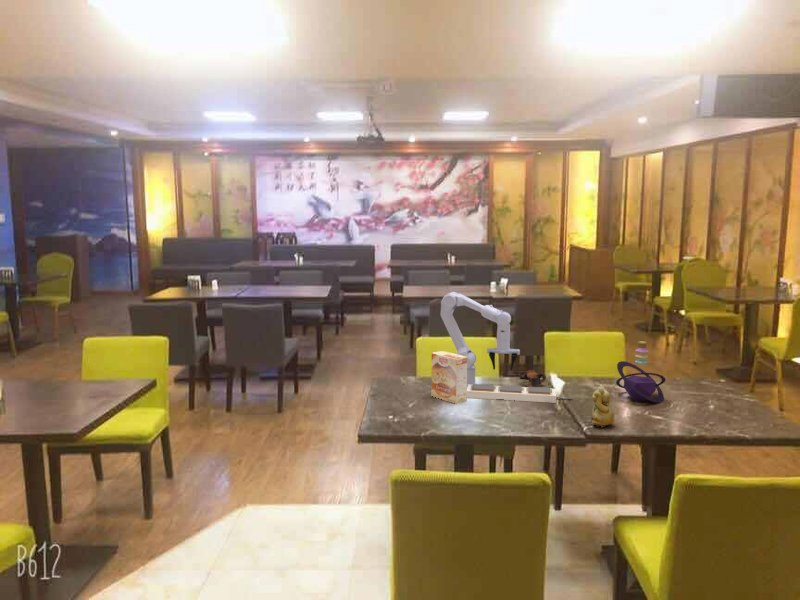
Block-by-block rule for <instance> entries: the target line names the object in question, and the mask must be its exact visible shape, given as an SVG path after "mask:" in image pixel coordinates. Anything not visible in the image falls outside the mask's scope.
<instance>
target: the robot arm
mask: <svg viewBox="0 0 800 600" xmlns="http://www.w3.org/2000/svg"><path fill="white" fill-rule="evenodd" d="M462 306H465V307H467V308H470V309H472V310H474V311H476V312H479V313H480V314H481V316H482V317H483V318H485V319H487V320H490V321H491V322H494V323H496V324H497V330H496V347H492V348H491V347H490V348H489V347H488V348H486V354H488V356H489V358H490V361H491V364H492V370H496V354H500V355H501V354H502V355H503V354H506V355H507V354H508V355H511V356H510V357H511V358H510V359H511V361H510V371H513V367H514V364H515V362H516V360H517V358H518V355H521V353H520V352H521V350H520V349H517V348H511V347H510V346H511V324H510V323H511V321H512V315H510V314H511V313H509V312H508V311H503V310H502V309H498V308H495V307H493V304H485V305H482V304H481V303H479V302H477V301H475V300H474V299H471V298H470V297H468V296H466V295H464V294H463V293H459V292H456V291H451V292H449V293H447V294H445V295H444V296H443V297H442V300H440V314H439V315H440V317H441V320H442V322H443V323H444V326H445V328H446V331H447V333H448V335H449V337H450V338H451V340H452V343H453V345H454V347H455V349H456V354H458V355H462V356H467V387H468V384H472V385H473V384H477V383H476V365H475V363H476V361H477V355H476V353H474V352H473V351H472V349H471V347H470V346H469V345H468V344H467V343H466V340H465V338H464V336H463V334H462V332H461V330H460V328H459V325H458V323H457V321H456V318H455V317H454V315H453V314H454V311H455V309H456V308H457V307H462Z"/></svg>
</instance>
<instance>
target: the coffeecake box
mask: <svg viewBox="0 0 800 600" xmlns="http://www.w3.org/2000/svg"><path fill="white" fill-rule="evenodd" d="M430 391H431V393H430V395H431V397H432V396H433V397H432V398H435V397H436V398H435V399H438V398H439V399H438V400H441V399H442V401H446V402H448V403H451V402H452V403H451V404H454V403H455V405H457V403H458V404H460V402H461V403H465V402H467V401H468V398H467V356H462V355H458V354H457V353H453V352H449V351H445V350H440V351H435V352H434V351H433V352H431V389H430ZM464 401H465V402H464Z"/></svg>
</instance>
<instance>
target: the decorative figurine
mask: <svg viewBox="0 0 800 600" xmlns="http://www.w3.org/2000/svg"><path fill="white" fill-rule="evenodd" d="M591 399H592V400H593V402H594V403H595V404H594V405H593V406H592V410H591V411H592V412H591V423H592V426H593V425H596V426H595V427H599V426H601V427H600V428H603V427H605V426H606V425H607V426H608V425H611V424H614V422H615V412H614V409H613V407H612V406H611V405H610V400H611V394H610V392H608V391H607V389H606V387H605V386H604V385H603V384H601V383H600V384H599V386H598V387H597V389H596V390H595V391H593V393H592V397H591ZM607 426H606V427H607ZM606 427H605V428H606Z"/></svg>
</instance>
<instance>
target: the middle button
mask: <svg viewBox="0 0 800 600" xmlns="http://www.w3.org/2000/svg"><path fill="white" fill-rule="evenodd" d="M499 386H500V392H504V393H522V387H523V386H515V385H499Z"/></svg>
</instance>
